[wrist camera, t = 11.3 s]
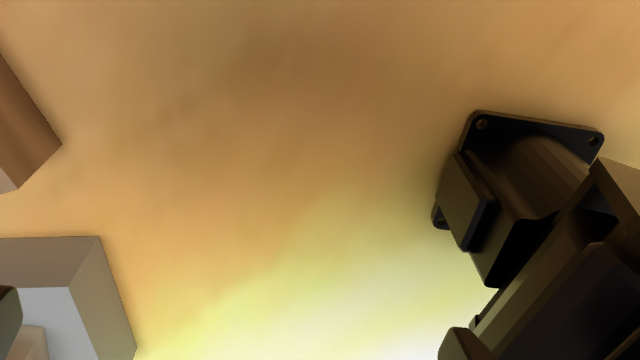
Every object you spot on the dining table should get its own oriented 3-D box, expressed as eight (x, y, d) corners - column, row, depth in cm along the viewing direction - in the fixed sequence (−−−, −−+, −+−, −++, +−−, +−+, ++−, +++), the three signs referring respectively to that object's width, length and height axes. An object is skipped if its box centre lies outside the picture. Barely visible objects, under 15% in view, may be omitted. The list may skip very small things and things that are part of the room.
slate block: (101, 231, 23) (67, 286, 20) (139, 342, 28) (117, 402, 25) (-73, 236, 23) (-138, 292, 20) (-6, 347, 28) (-48, 408, 24)
